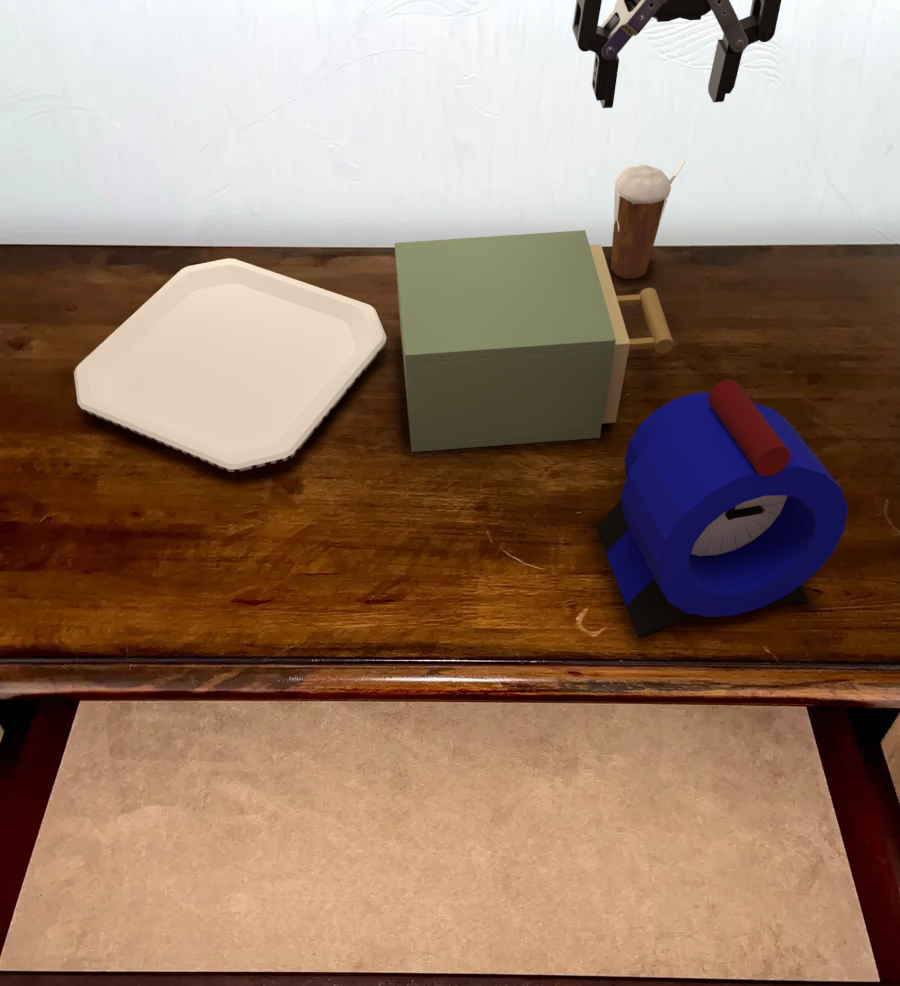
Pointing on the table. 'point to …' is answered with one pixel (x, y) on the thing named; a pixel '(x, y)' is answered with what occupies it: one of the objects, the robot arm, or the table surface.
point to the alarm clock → (718, 511)
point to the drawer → (623, 344)
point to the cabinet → (503, 340)
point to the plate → (231, 364)
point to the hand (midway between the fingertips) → (660, 100)
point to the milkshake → (637, 217)
